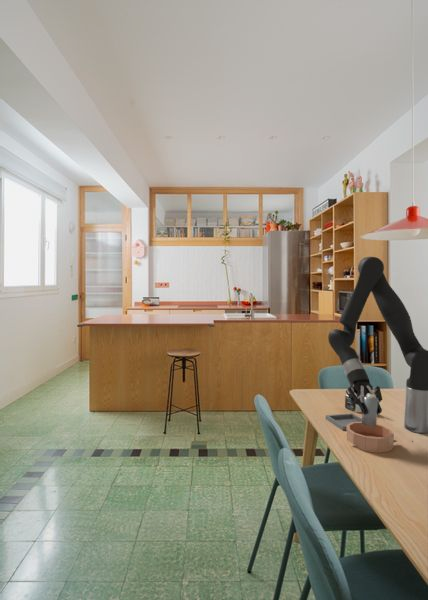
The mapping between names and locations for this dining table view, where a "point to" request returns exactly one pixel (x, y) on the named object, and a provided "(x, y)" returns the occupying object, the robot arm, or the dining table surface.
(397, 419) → the dining table surface
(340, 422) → the parts tray
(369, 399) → the pebble cup
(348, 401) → the medicine bottle
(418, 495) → the dining table surface
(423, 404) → the robot arm
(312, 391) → the dining table surface
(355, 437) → the bowl
